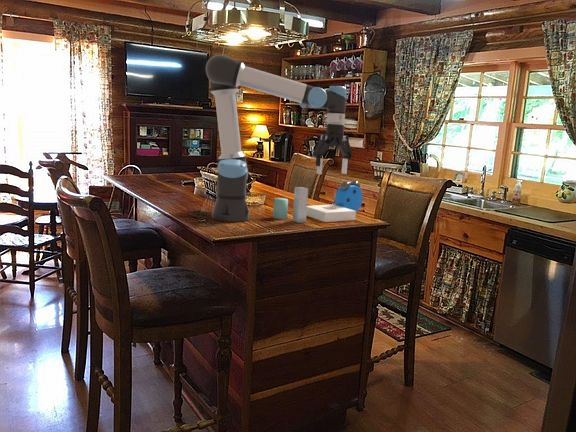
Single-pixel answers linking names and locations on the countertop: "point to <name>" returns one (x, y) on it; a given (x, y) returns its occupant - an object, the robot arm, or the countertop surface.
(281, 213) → the pale teal capsule
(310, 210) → the bore block
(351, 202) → the alarm clock
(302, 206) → the square bit
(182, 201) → the countertop surface
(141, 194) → the countertop surface
